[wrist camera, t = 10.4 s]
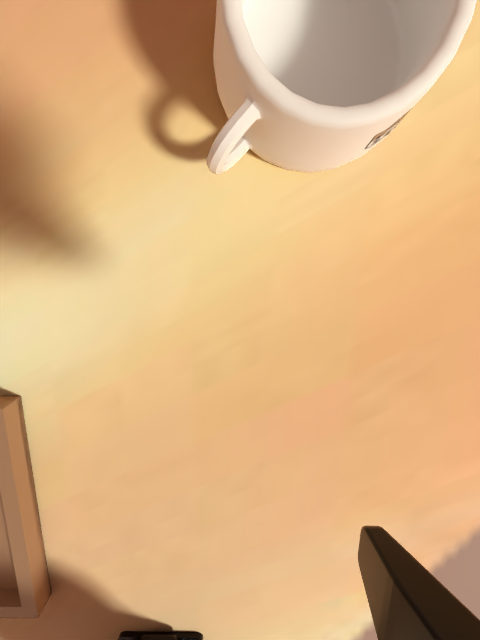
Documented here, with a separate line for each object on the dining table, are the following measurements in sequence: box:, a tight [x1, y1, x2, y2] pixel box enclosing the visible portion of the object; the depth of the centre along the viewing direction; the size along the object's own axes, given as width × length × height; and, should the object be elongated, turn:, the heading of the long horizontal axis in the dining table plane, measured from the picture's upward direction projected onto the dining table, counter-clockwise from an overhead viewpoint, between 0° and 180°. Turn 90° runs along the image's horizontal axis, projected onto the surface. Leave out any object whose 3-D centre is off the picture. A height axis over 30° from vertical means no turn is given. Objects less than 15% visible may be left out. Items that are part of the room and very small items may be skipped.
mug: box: [207, 0, 476, 175], centre depth 13 cm, size 12×10×6 cm
